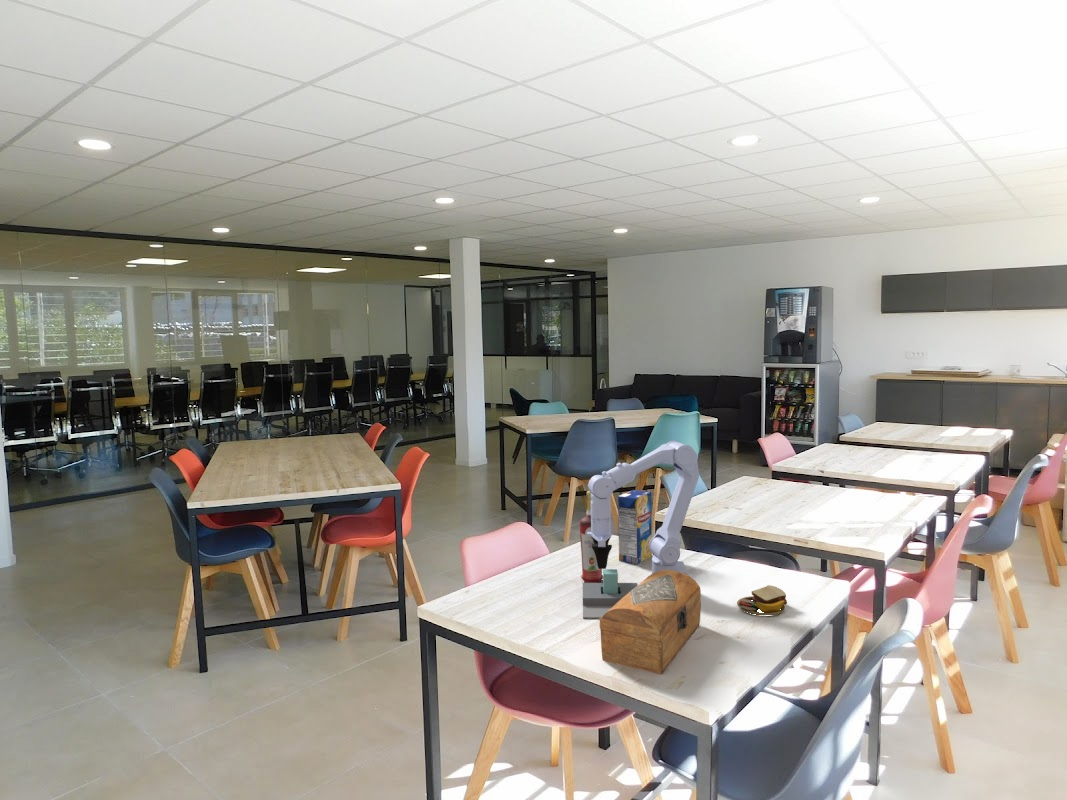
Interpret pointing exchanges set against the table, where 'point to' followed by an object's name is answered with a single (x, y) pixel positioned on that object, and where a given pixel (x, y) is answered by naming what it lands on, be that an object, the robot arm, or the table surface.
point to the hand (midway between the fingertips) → (601, 563)
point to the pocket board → (597, 598)
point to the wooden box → (652, 622)
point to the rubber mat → (594, 611)
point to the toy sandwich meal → (764, 601)
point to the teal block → (610, 581)
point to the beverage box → (634, 526)
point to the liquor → (588, 549)
